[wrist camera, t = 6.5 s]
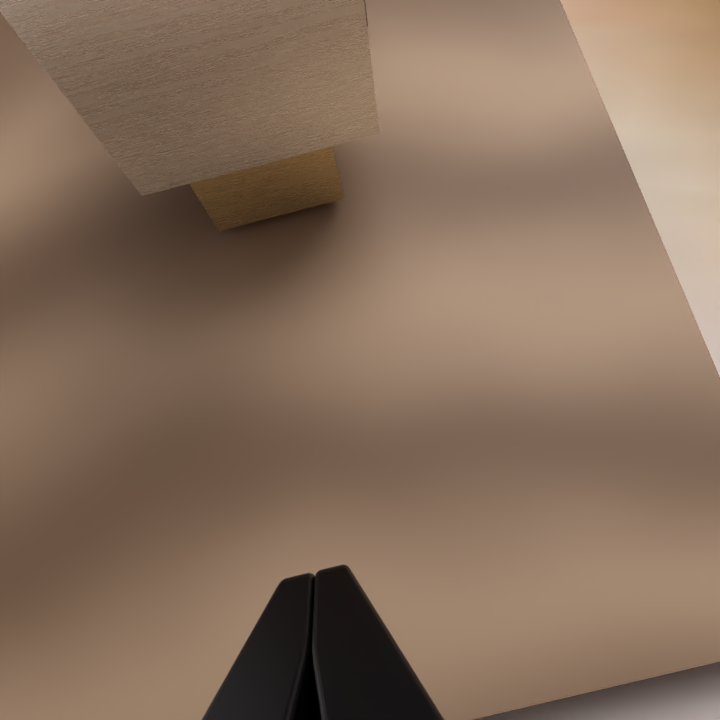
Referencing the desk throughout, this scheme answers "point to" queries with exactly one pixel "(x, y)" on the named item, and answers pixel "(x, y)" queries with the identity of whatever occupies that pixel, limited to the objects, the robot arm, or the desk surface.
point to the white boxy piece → (214, 92)
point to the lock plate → (355, 394)
